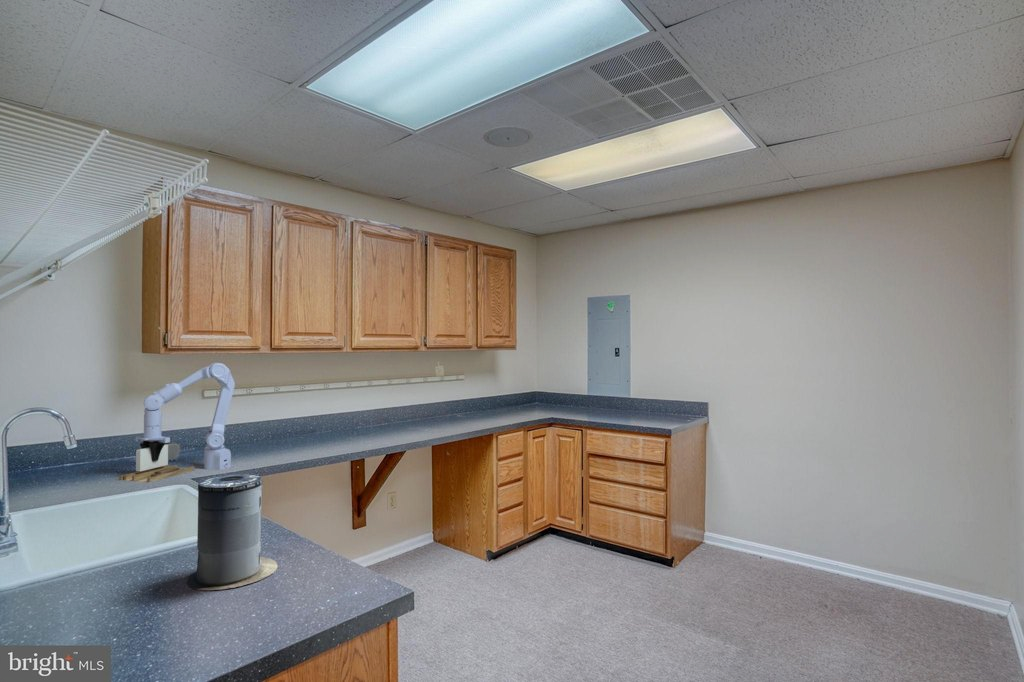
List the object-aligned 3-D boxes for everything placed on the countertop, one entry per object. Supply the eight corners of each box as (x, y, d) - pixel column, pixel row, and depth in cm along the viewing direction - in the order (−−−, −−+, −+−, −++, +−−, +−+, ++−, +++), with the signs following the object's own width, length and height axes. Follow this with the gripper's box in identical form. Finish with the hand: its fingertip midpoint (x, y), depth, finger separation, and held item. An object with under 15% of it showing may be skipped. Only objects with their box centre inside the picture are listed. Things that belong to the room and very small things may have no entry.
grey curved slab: (168, 458, 239) (175, 438, 239) (176, 462, 238) (183, 441, 238) (136, 466, 223) (144, 444, 222) (145, 470, 222) (153, 448, 222)
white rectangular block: (167, 464, 210) (168, 444, 210) (140, 471, 198) (140, 450, 198) (163, 464, 210) (163, 444, 210) (135, 471, 198) (136, 450, 198)
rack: (194, 472, 211) (194, 465, 211) (149, 484, 192) (149, 477, 192) (166, 470, 214) (166, 464, 215) (119, 482, 195) (119, 475, 195)
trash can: (286, 554, 125) (285, 466, 125) (263, 587, 108) (262, 485, 108) (210, 560, 122) (209, 470, 123) (174, 595, 105) (173, 490, 105)
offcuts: (180, 472, 207) (180, 467, 207) (158, 478, 197) (158, 473, 197) (172, 472, 208) (172, 467, 208) (149, 478, 198) (149, 472, 198)
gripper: (128, 426, 202) (127, 461, 202) (158, 427, 199) (158, 463, 198) (144, 424, 209) (144, 458, 209) (174, 425, 206) (174, 459, 205)
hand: (152, 460), depth 204 cm, fingers closed on white rectangular block, 2 cm apart
